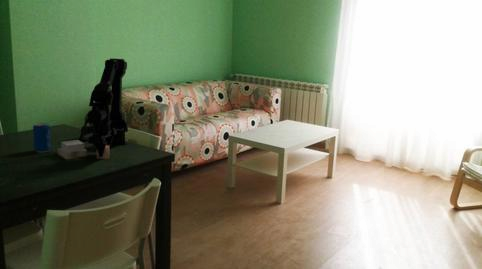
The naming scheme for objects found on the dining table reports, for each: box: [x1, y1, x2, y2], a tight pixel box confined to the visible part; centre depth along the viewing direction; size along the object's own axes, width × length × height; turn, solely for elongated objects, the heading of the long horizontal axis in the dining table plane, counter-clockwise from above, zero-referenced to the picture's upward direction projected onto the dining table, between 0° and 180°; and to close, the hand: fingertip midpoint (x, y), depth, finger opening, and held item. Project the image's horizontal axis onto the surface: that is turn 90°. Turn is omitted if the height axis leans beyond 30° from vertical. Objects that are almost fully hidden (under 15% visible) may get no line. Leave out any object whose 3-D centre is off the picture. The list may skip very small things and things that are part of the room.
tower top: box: [60, 139, 85, 153], centre depth 188 cm, size 7×7×3 cm
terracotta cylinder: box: [96, 145, 111, 160], centre depth 187 cm, size 5×5×5 cm
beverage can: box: [32, 122, 52, 154], centre depth 190 cm, size 6×6×12 cm
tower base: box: [57, 147, 88, 160], centre depth 189 cm, size 9×9×3 cm
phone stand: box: [78, 114, 97, 142], centre depth 213 cm, size 9×6×12 cm, turn 103°
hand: (103, 155), depth 188 cm, fingers closed on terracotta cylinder, 5 cm apart
